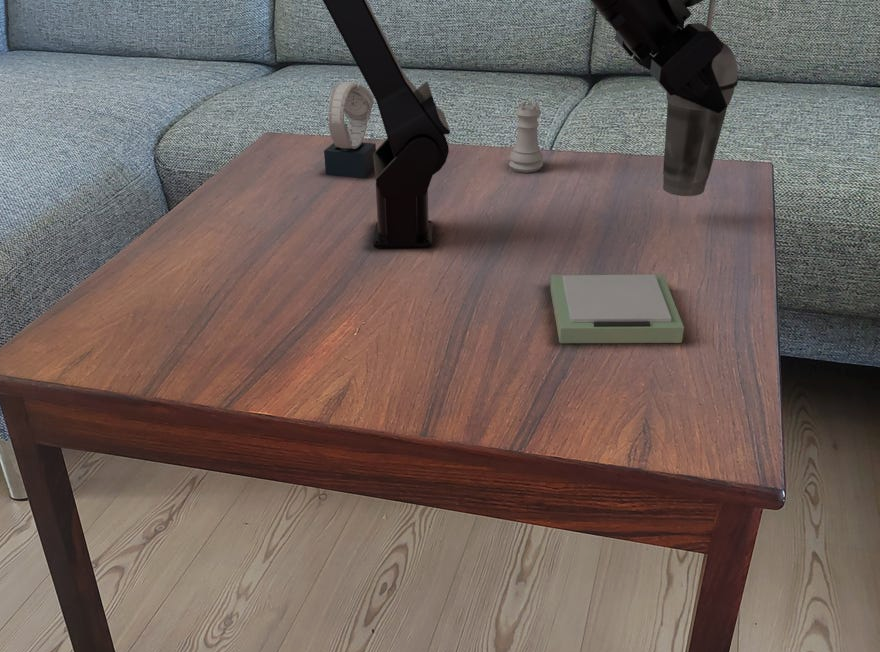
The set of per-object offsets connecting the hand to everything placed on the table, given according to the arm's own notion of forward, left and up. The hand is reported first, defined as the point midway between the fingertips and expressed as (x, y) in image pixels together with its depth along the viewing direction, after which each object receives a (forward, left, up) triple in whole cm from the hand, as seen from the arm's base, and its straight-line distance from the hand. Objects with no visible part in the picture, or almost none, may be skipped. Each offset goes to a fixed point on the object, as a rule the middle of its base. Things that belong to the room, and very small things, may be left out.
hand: (711, 99), depth 98 cm
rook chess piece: (+18, +18, -14) cm, 29 cm away
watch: (+18, +41, -14) cm, 47 cm away
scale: (-23, +12, -13) cm, 29 cm away
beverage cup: (0, +1, -10) cm, 10 cm away
